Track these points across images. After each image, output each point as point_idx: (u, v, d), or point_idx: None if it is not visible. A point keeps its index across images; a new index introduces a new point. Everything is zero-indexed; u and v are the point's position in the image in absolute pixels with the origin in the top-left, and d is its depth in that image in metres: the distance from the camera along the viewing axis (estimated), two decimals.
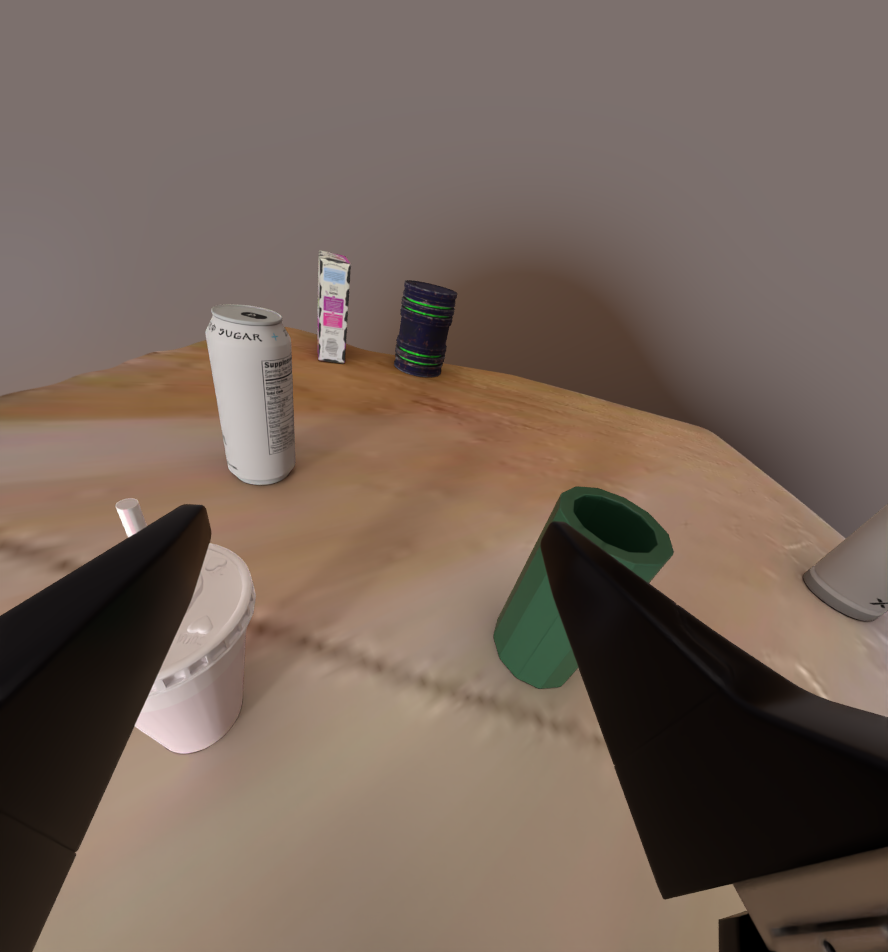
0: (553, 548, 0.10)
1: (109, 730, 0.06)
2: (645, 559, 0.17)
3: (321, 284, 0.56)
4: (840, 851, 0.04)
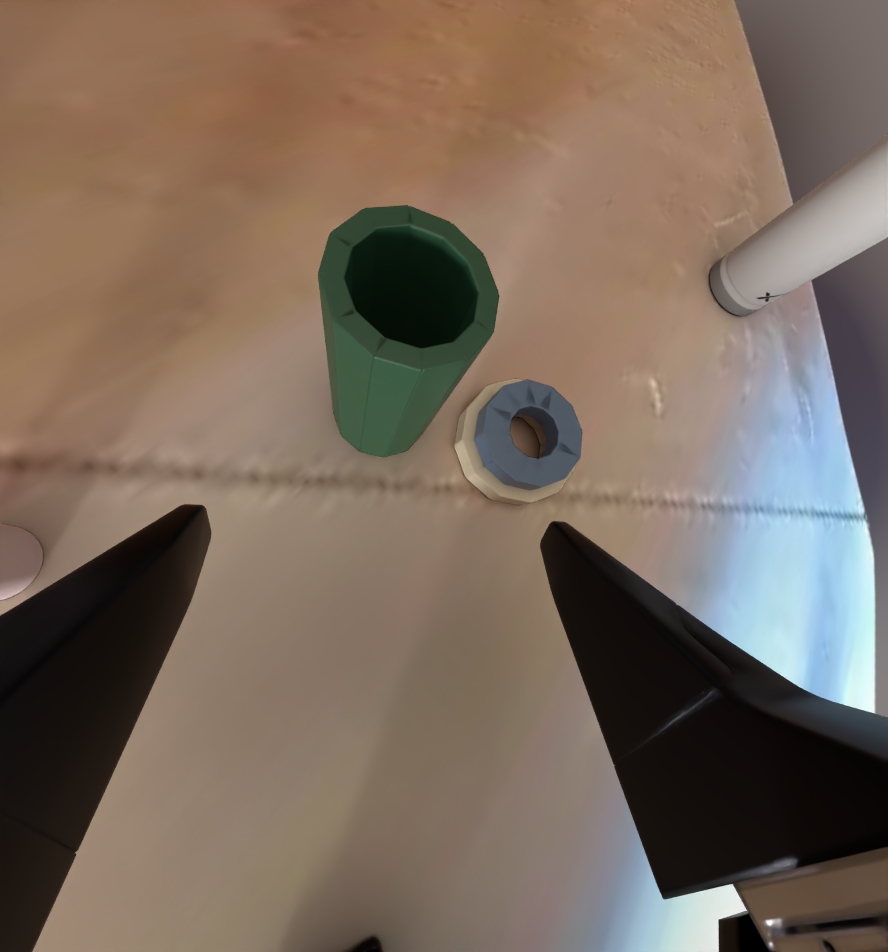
0: (553, 548, 0.10)
1: (109, 729, 0.06)
2: (442, 357, 0.12)
3: None
4: (840, 851, 0.04)
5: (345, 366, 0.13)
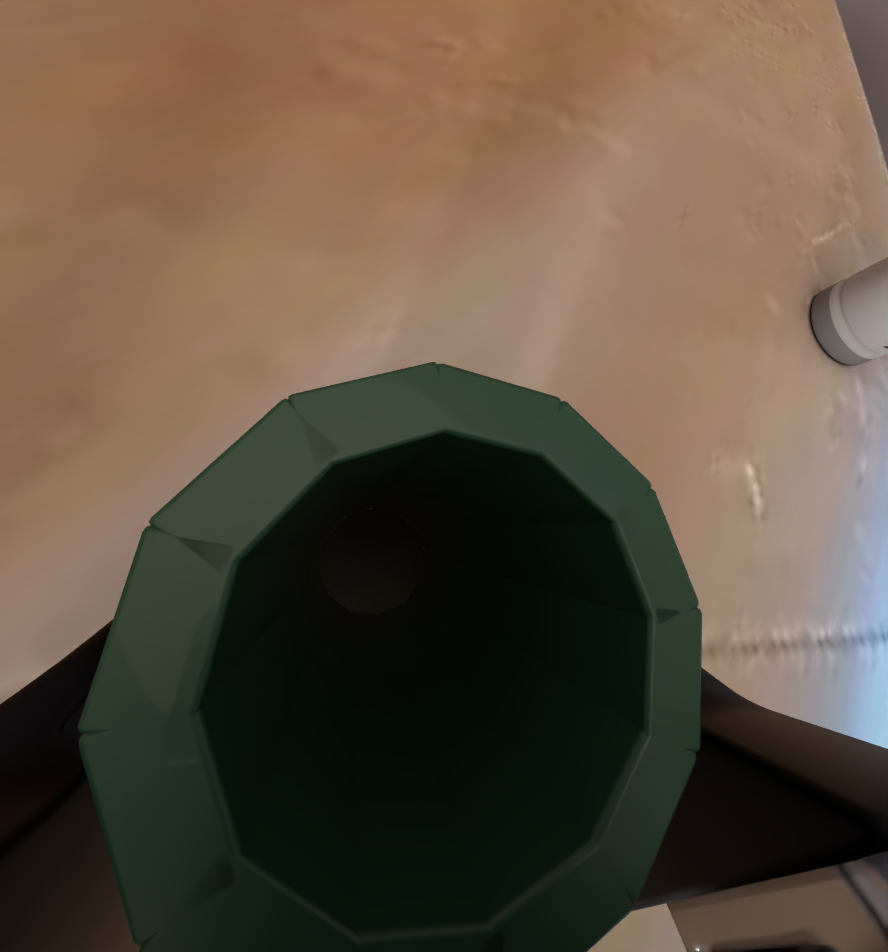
0: None
1: None
2: (565, 931, 0.03)
3: None
4: (760, 874, 0.04)
5: None
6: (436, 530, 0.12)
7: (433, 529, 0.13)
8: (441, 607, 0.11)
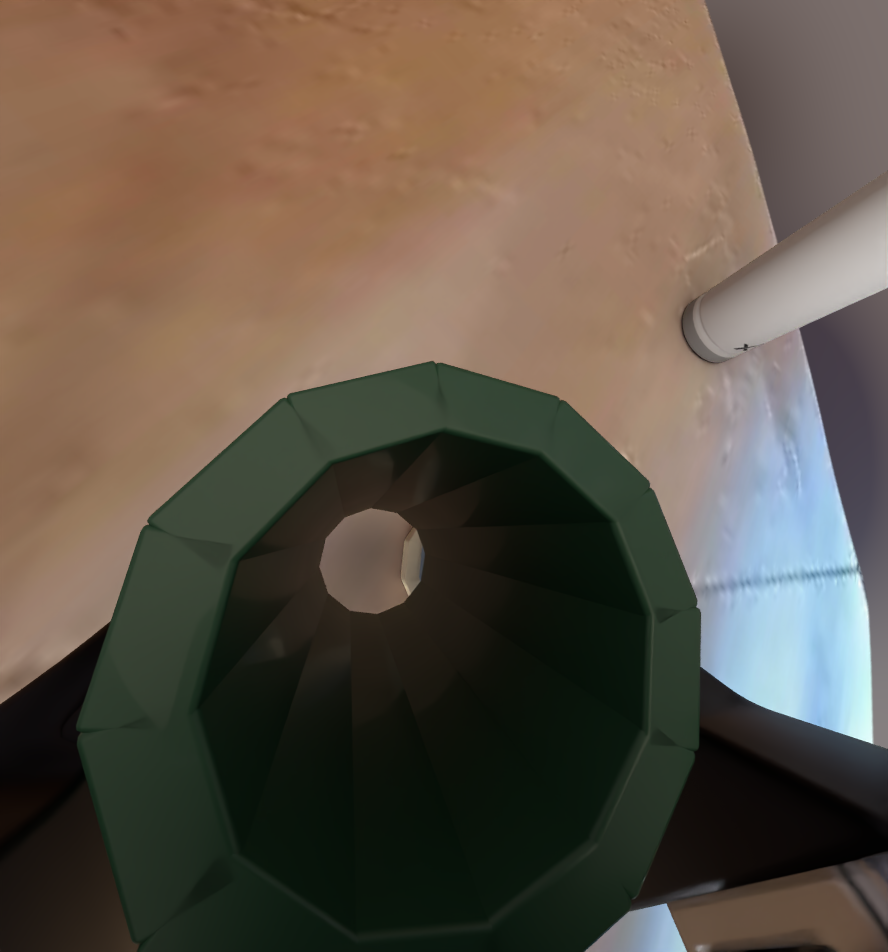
0: None
1: None
2: (563, 930, 0.03)
3: None
4: (760, 874, 0.04)
5: None
6: (436, 530, 0.12)
7: (433, 529, 0.13)
8: (440, 607, 0.11)
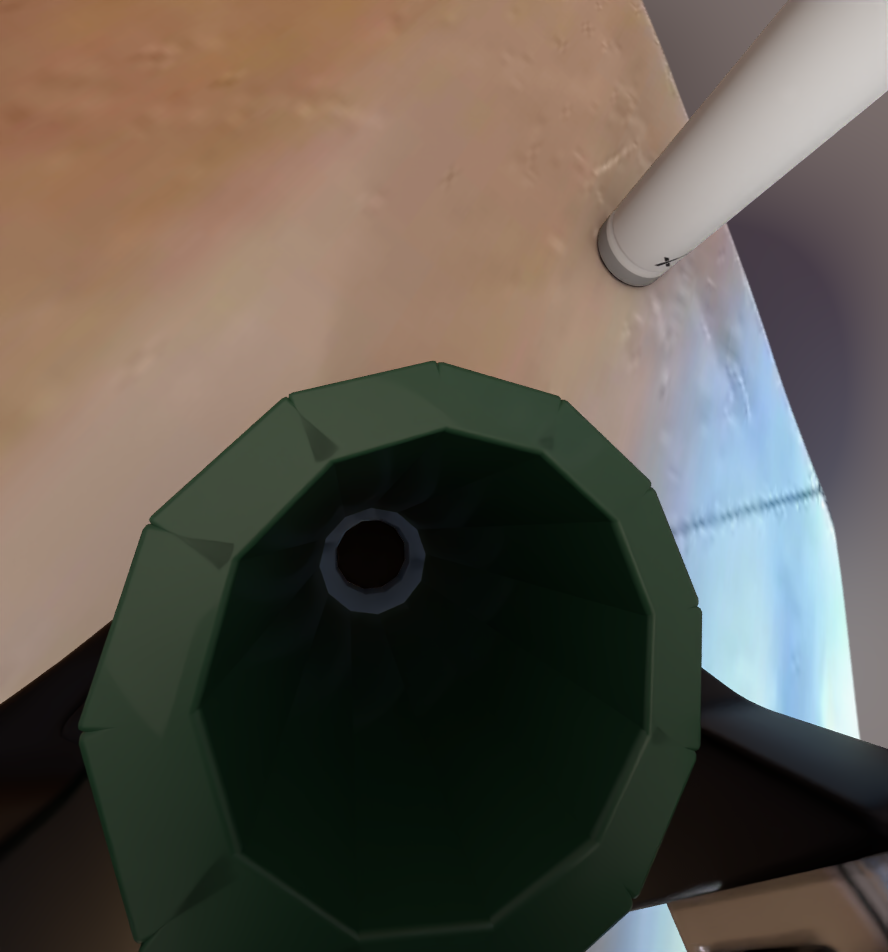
0: None
1: None
2: (565, 929, 0.03)
3: None
4: (760, 874, 0.04)
5: None
6: (436, 530, 0.12)
7: (433, 529, 0.13)
8: (441, 607, 0.11)
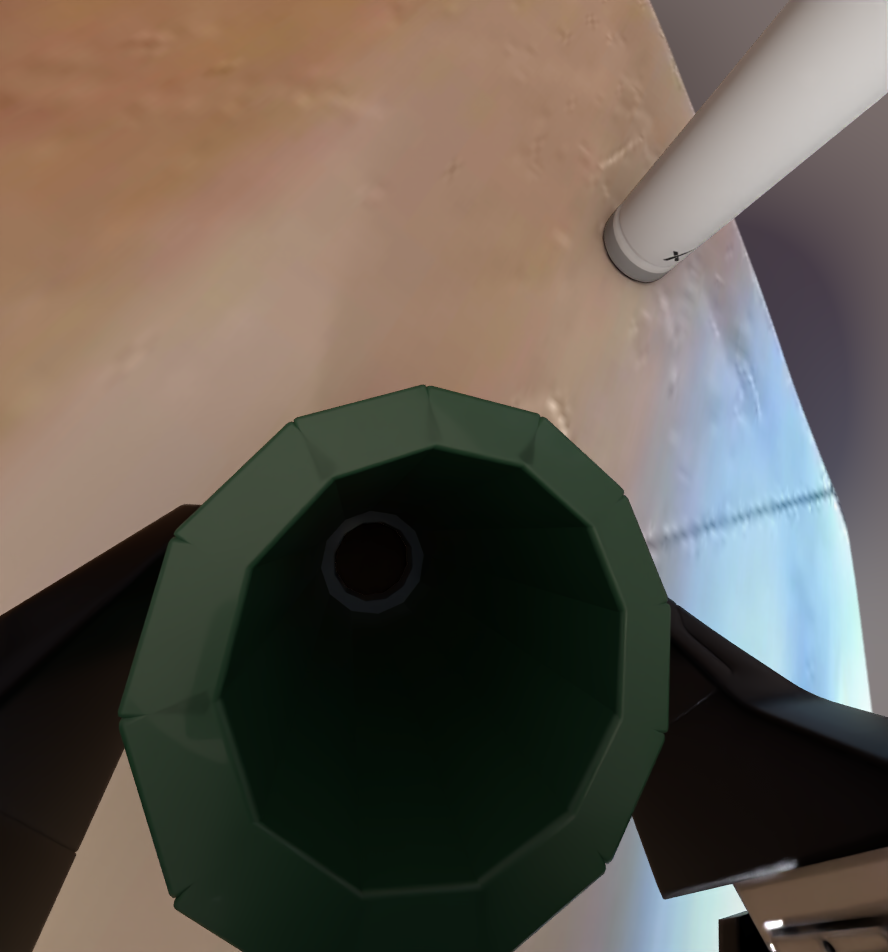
0: None
1: (109, 730, 0.06)
2: (544, 889, 0.04)
3: None
4: (841, 851, 0.04)
5: None
6: (433, 531, 0.13)
7: (430, 530, 0.13)
8: (438, 606, 0.12)
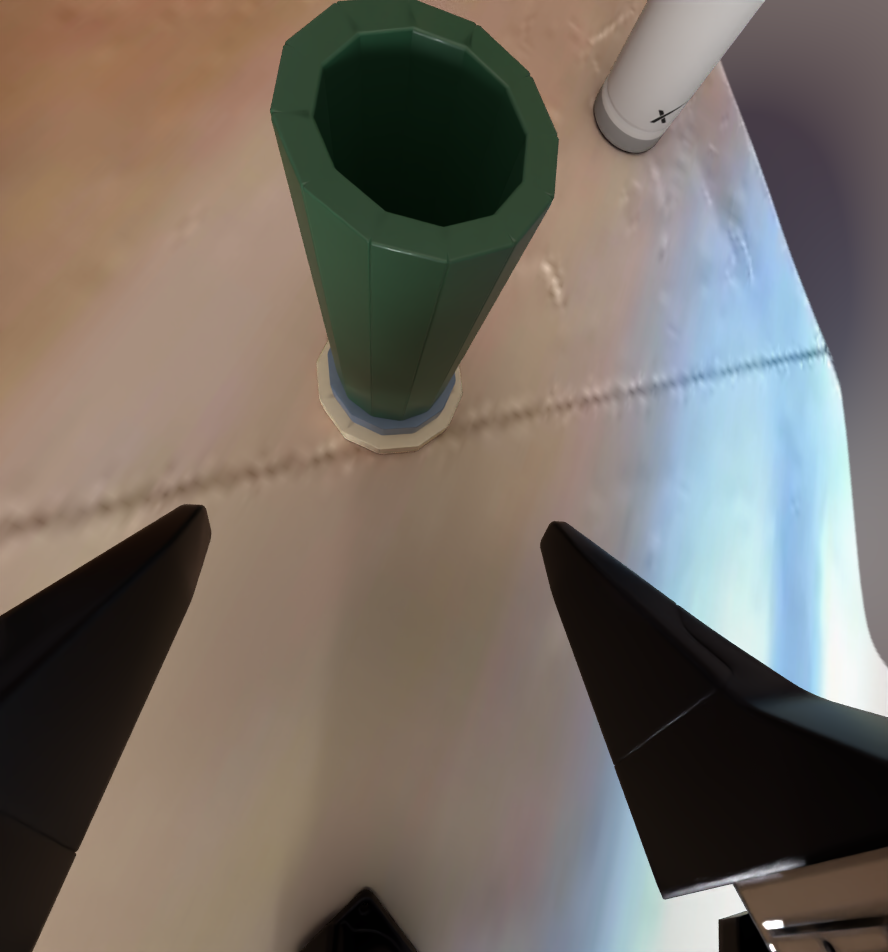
0: (553, 548, 0.10)
1: (109, 729, 0.06)
2: (478, 239, 0.07)
3: None
4: (840, 851, 0.04)
5: (334, 281, 0.09)
6: None
7: None
8: None
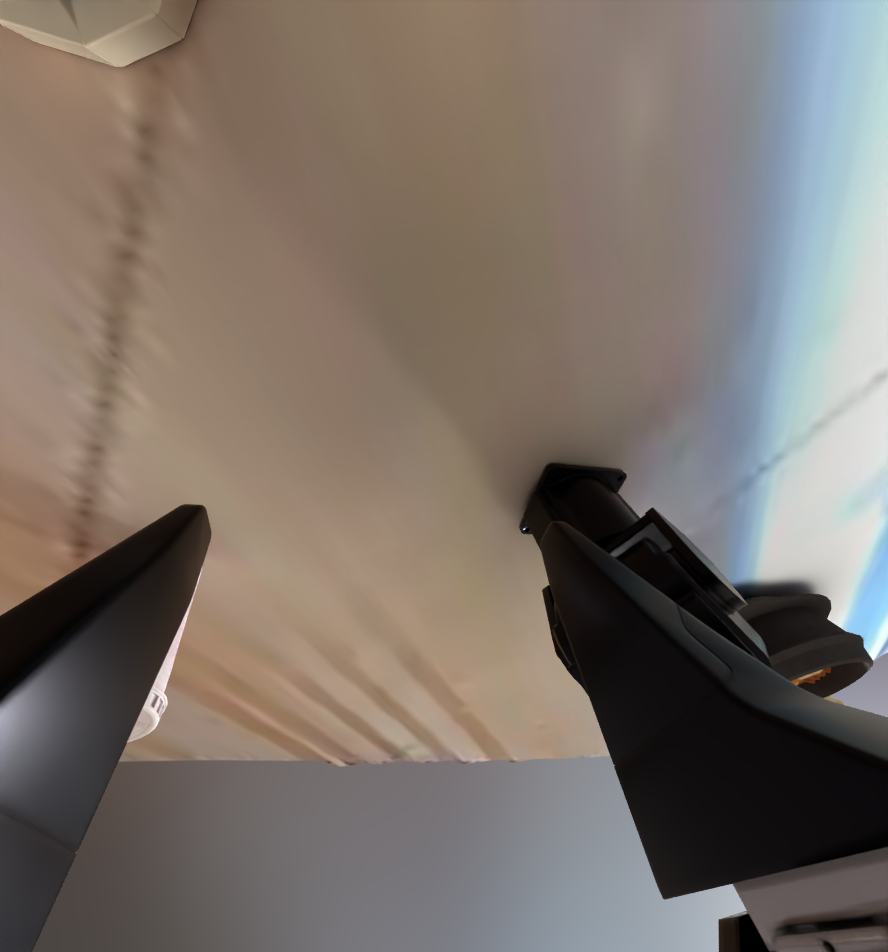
0: (553, 548, 0.10)
1: (109, 729, 0.06)
2: None
3: None
4: (840, 851, 0.04)
5: None
6: None
7: None
8: None
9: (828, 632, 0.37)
